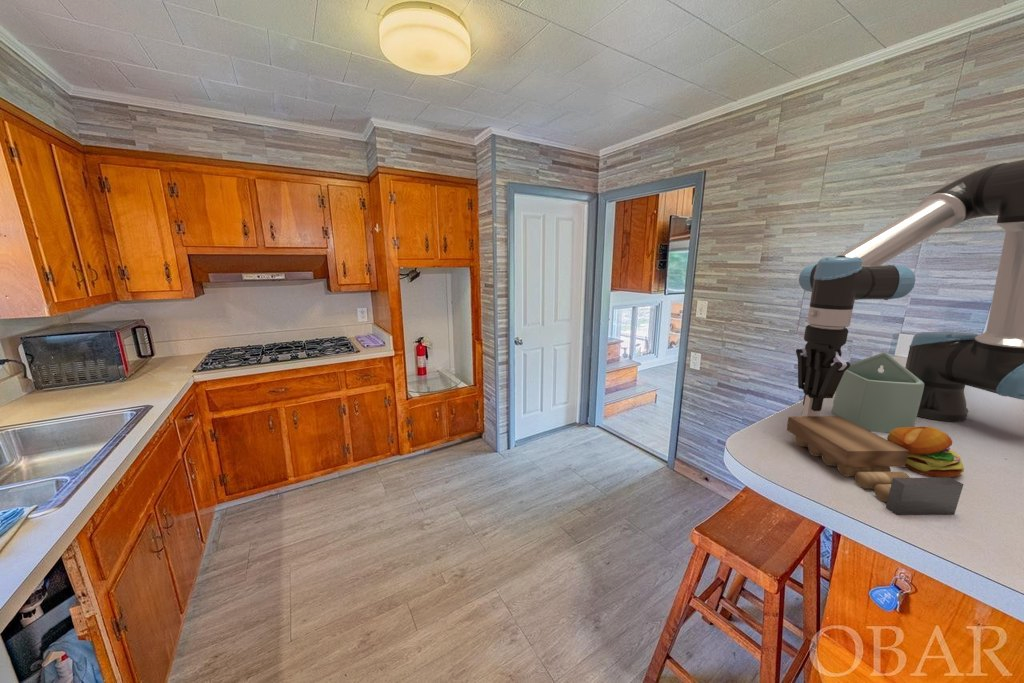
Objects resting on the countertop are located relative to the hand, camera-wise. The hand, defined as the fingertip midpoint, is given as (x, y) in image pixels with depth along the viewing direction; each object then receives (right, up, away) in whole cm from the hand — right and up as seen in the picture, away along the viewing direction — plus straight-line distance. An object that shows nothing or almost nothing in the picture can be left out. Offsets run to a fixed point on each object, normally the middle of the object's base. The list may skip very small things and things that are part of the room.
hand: (809, 420), depth 89 cm
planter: (+21, -3, +8) cm, 22 cm away
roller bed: (0, -8, -11) cm, 14 cm away
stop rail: (0, -11, -24) cm, 26 cm away
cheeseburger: (+15, -8, -11) cm, 20 cm away
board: (0, -4, -8) cm, 9 cm away
